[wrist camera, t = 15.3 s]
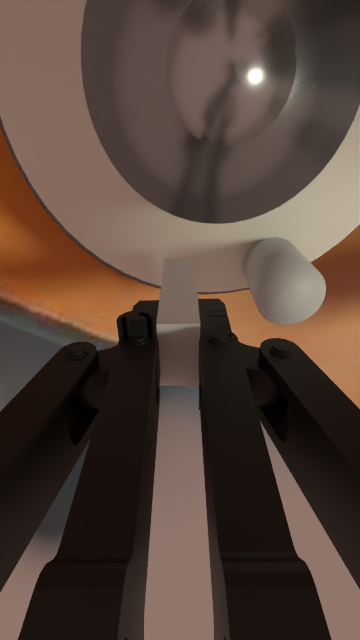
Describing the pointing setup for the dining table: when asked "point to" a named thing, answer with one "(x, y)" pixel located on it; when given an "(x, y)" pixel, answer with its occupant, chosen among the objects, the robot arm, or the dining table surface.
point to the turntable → (136, 212)
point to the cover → (221, 97)
